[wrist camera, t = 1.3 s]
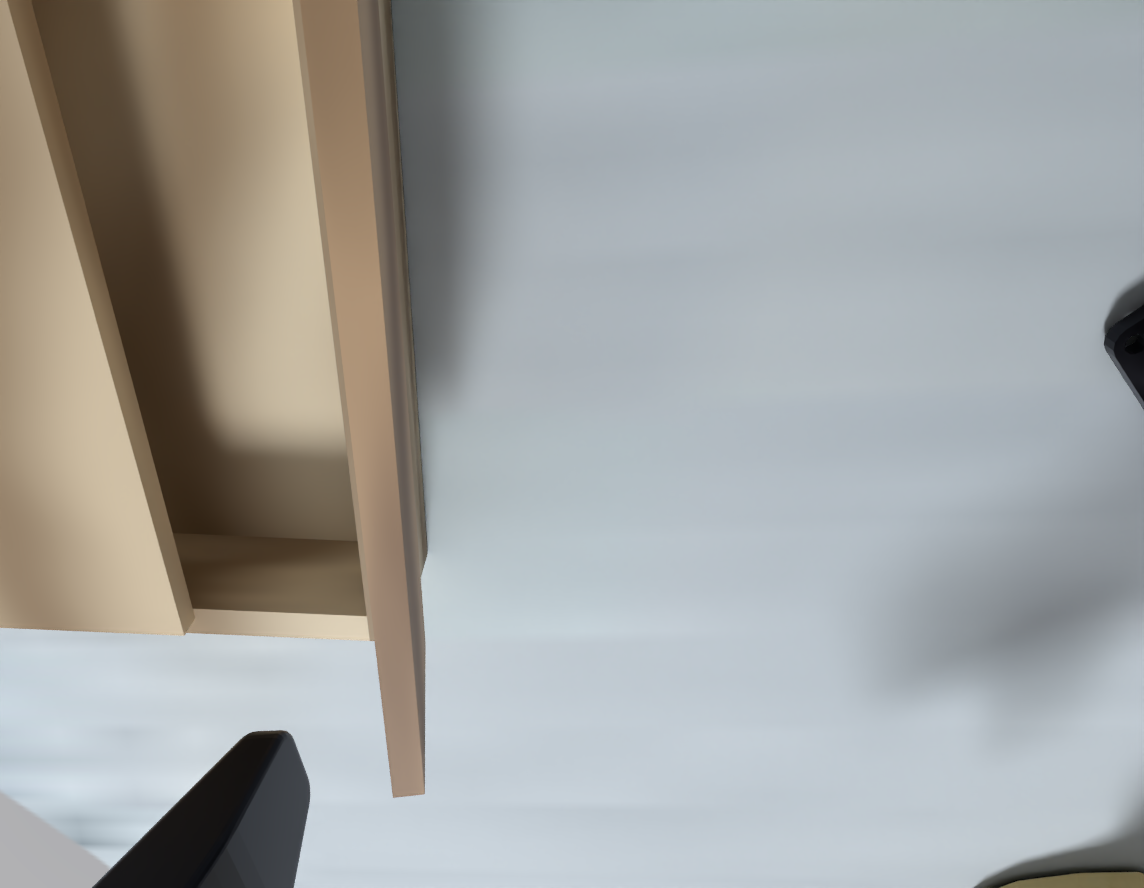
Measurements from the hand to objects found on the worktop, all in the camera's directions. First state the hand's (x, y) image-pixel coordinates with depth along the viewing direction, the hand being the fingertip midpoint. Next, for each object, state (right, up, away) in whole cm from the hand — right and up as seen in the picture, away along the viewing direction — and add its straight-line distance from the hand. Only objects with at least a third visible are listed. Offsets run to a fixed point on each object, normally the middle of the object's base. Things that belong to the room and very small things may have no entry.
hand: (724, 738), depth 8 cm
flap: (-5, +3, +5) cm, 8 cm away
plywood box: (-10, +7, +11) cm, 16 cm away
